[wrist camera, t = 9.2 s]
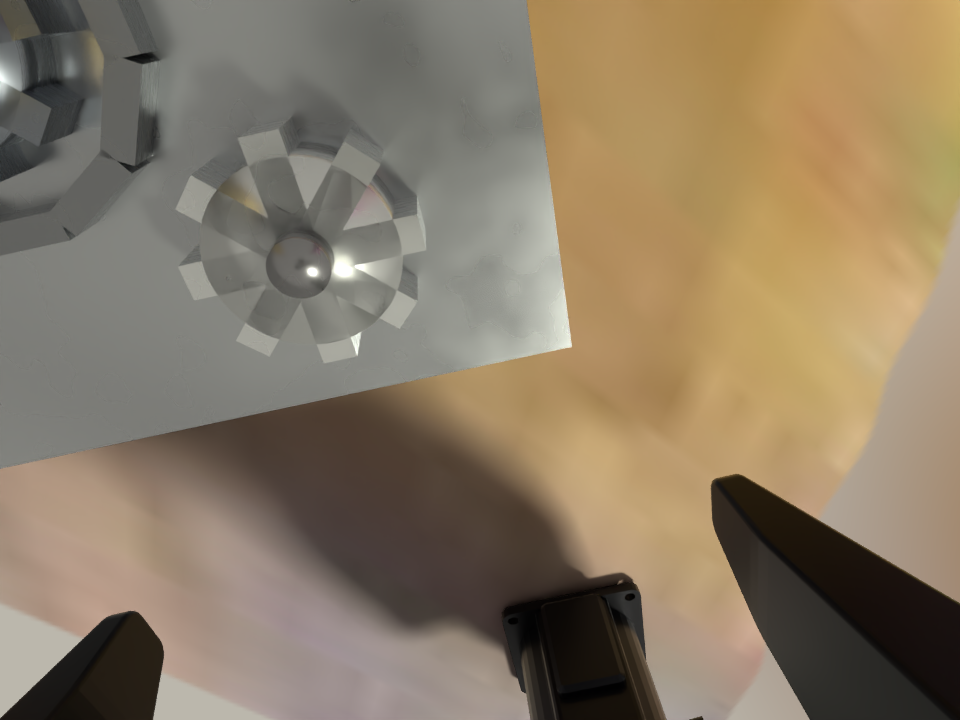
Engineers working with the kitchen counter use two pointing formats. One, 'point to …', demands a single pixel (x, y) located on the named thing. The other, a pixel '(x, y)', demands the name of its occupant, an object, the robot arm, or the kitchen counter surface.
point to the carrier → (272, 214)
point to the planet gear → (32, 80)
